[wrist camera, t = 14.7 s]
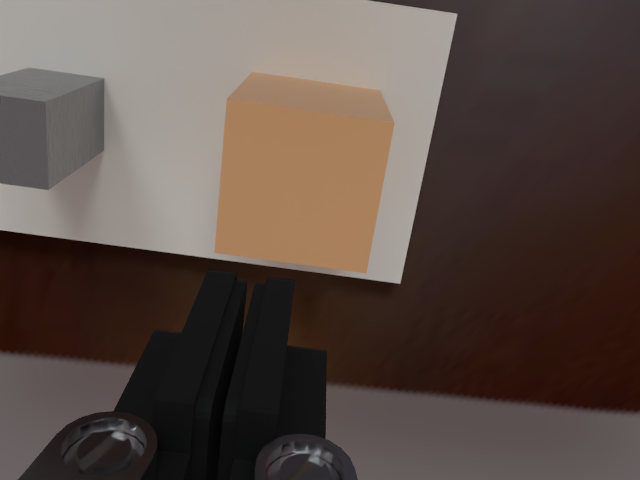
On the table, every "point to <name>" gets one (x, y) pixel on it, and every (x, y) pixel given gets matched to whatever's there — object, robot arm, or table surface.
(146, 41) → the board
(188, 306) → the table surface
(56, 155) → the post
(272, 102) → the block
